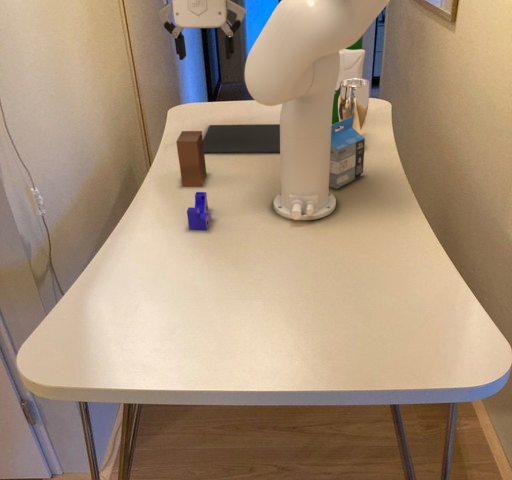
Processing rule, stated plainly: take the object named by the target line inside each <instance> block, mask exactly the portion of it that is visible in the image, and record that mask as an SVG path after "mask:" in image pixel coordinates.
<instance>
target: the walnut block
mask: <svg viewBox="0 0 512 480" xmlns="http://www.w3.org/2000/svg"><path fill="white" fill-rule="evenodd" d="M203 139H204V137H203V131H202V130H182V131H181V132H180V134H179V136H178V138H177V139H176V141H175V142H176V149H177V157H178V163H179V172H180V177H181V185H182V187H203V185H204V182H205V180H206V177H207V165H206V157H205V154H204V147H203Z"/></svg>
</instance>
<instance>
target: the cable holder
mask: <svg viewBox="0 0 512 480" xmlns="http://www.w3.org/2000/svg"><path fill="white" fill-rule="evenodd" d="M208 205H209V204H208V194H207V192H206V191H196V192H195V194H194V207H188V208H187V210H186V215H187V222H188V228H189V231H208V229H209V227H210V224H211V223H212V213H211V212H210V213H209V206H208Z"/></svg>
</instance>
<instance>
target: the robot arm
mask: <svg viewBox="0 0 512 480" xmlns="http://www.w3.org/2000/svg"><path fill="white" fill-rule="evenodd" d="M390 2H391V0H280V1H279V3H278V4H277V5H276V7H275V8H274V10H273V11H272V13H271V15H270V17H269V18H268V20H267V22H266V23H265V25H264V26H263V28H262V30H261V32H260V33H259V35H258V37H257V38H256V40H255V42H254V43H253V45H252V47H251V49H250V50H249V52H248V55H247V58H246V61H245V65H244V83H245V87H246V89H247V91H248V93H249V95H250V96H251V98H252V99H253V100H254V101H255V102H257V103H258V104H260V105H263V106H267V107H274V106H275V107H276V106H280V105H281V108H280V109H281V110H280V114H279V124H280V153H279V161H280V162H279V165H280V167H279V168H280V193H278V194H277V195H276V196H275V197H274V199H273V202H272V204H273V209H274V211H275V212H276V213H277V214H278V215H280V216H281V217H284V218H286V219H290V220H295V221H315V220H318V219H319V220H320V219H323V218H326V217H327V216H329V215H330V214H332V213H333V212H334V211H335V209H336V208H337V207H336V206H337V204H336V203H337V200H336V197H335V196H334V195H333V194H332V193H331V192H330V191H329V190H330V186H329V171H330V148H331V128H332V110H333V100H334V94H335V89H336V84H337V80H338V75H339V69H340V54H339V51H340V50H343V49H345V48H347V47H350V46H351V45H353V44H354V43H356V42H357V41H358V40H359V39H360V37H362V36H363V35H364V34H365V33H366V31H367V30H368V29H369V27H370V26H371V25H372V24H373V22H374V21H375V20H376V19H377V18H378V16H379V15H380V14H381V13H382V11H383V10H384V9H385V8H386V7H387V5H388V4H389V3H390ZM229 11H230V12H233V13H235V14H236V18H235V21H234V22H233V24H232V23H231V22H230V21H229ZM171 13H173V20H174V23H173V22H172V21H171V20H170V18H169V14H171ZM246 14H247V9H246V8H245V7H244V6H241V5H239V4H238V3H236V2H234V1H233V0H172V1H171V2H170V3H169V4H168V5H166V6H165V7H163V8H162V9H160V10H159V11H158V12H157V16H158V18H159V20H160V22H161V23H162V25H163V27H164V29H165V30H167V32H168V33H169V34H170V35H171V37H172V38H173V39H174V44H175V54H176V55H178V59H179V61H183V60H184V59H185V58H186V57H187V49H186V42H185V35H184V34H183V30H184V29H216V28H221V30H222V31H223V32H224V33H225V37H224V48H225V59H226V60H231V58H232V57H233V55H234V54H235V38H234V37H235V33H236V32H237V31H238V30H239V28H240V27H241V26H242V23H243V21H244V19H245V16H246Z"/></svg>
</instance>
